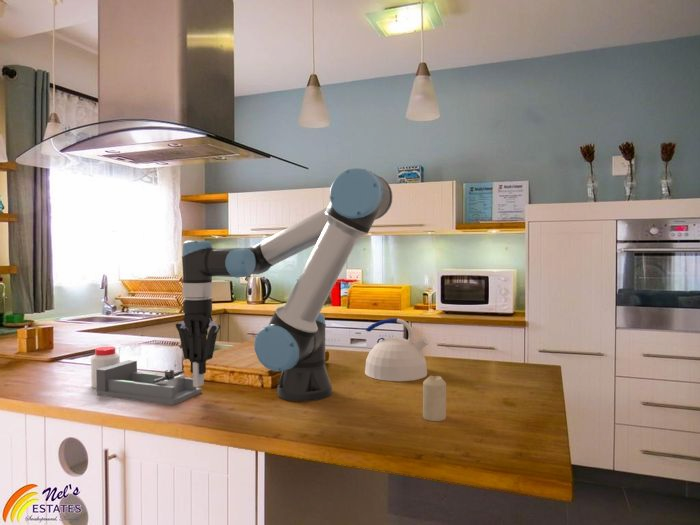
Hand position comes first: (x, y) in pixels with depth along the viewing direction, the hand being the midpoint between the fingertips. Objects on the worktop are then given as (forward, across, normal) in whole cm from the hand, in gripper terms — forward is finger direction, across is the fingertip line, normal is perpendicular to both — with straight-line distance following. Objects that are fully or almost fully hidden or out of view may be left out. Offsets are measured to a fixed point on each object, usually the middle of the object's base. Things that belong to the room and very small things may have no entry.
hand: (198, 385), depth 138 cm
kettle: (+4, -42, -46) cm, 63 cm away
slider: (+3, +10, 0) cm, 10 cm away
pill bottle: (+4, +36, -3) cm, 36 cm away
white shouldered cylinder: (+4, -62, -8) cm, 63 cm away
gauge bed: (+4, +17, 0) cm, 17 cm away
